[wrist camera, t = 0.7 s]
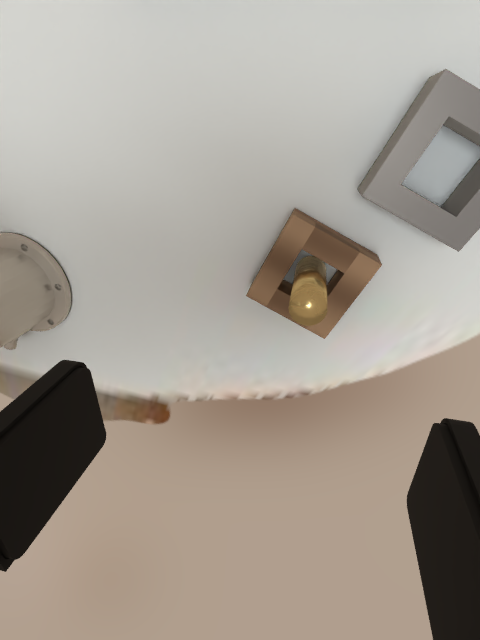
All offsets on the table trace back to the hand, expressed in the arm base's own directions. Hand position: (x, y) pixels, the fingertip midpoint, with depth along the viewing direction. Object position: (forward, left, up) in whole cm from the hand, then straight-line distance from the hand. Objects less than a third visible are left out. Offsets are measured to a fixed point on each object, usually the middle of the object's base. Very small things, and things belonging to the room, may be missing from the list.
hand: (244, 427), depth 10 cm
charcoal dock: (+9, -8, -27) cm, 30 cm away
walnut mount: (-4, -4, -27) cm, 28 cm away
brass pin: (-4, -4, -27) cm, 28 cm away
